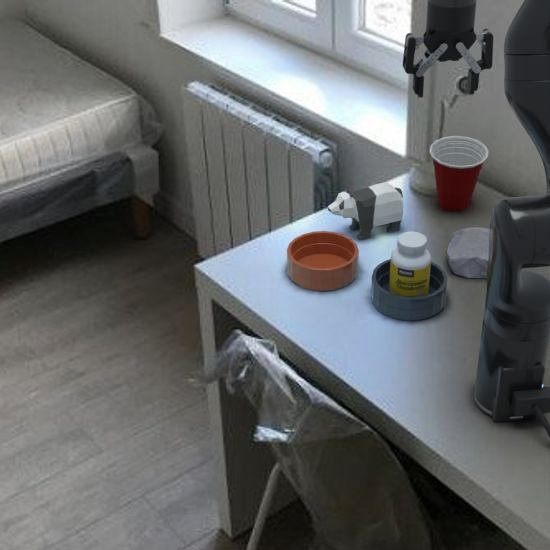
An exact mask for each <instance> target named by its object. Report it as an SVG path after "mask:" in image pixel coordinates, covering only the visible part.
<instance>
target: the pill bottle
mask: <svg viewBox="0 0 550 550" xmlns="http://www.w3.org/2000/svg"><path fill="white" fill-rule="evenodd" d="M396 242H397V243H396V247H395V248H394V249H393V250H392V251H391V254H390V259H391V263H390V281H389V293H392V294H395V295H398V296H404V297H421V296H426V295H428V289H429V278H430V267H431V261H432V255H431V253H430V251H429V250H428V249H427V246H428V238H427V236H425V234H423V233H421V232H418V231H405V232H402V233H400V234H399V235H398V236H397V240H396Z"/></svg>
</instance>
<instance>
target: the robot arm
mask: <svg viewBox="0 0 550 550" xmlns="http://www.w3.org/2000/svg"><path fill="white" fill-rule="evenodd" d="M477 1H478V0H427V6H426V7H427V8H426V22H425V31H424V33H423V35H414V34H413V33H411V32H408V33H406V35H405V38H404V39H405V40H404V47H403V57H402V69H403V71H404V72H405V73H406V74H407V75H412V76H413V77H412V90H413V92H414V94H415V95H416V96H417V98H418V99H420V98H424V85H425V76H424V74H425V73H426V72H427V71H428V70H429V68H432V67H433V66H434V65H435V63H436V62H437V61H438V62H439V63H445V62H448V61H451V62H459V60H461V59H464V61H465V62H466V63H467V65H468V66H469V69H468V71H467V79H466V80H467V82H466V91H467V94H468V95H474V94H475V92H477V91H478V90H479V84H480V83H479V82H480V74H481V72H483V71H484V70H491V69H492V68H493V61H494V60H493V59H494V34H493V32H491V30H489V29H488V28H484V29H482V31H475V21H476V11H477ZM476 41H477V42H478V45H480V47H481V48H480V49H481V51H480V53H481V55H480V59H479V60H476V59H475V58H474V56H473V55H472V54H471V52H470V49H471V48H472V46H473V45H474V44H475V42H476ZM503 42H504V43H503V53H504V54H503V91H504V95H505V98H506V100H507V103H508V105H509V107H510V109H511V111H512V112H513V114H514V115H515V117H516V118H517V120H518V121H519V123H520V125H521V126H522V127H523V129H524V131H525V132H526V133H527V135H528V136H529V137H530V139H531V141H532V143H533V144H534V146H535V149H536V150H537V152H538V154H539V156H540V159H541V161H542V165H543V167H544V168H543V169H544V174H545V181H546V194H539V195H538V194H537V195H525V196H513V197H504V198H500V199H499V200H498V201H497V202H496V203H495V204H494V206H493V209H492V210H491V211H492V212H491V216H490V221H489V222H490V223H489V229H490V235H489V256H488V267H487V279H486V293H485V303H484V311H483V319H482V327H481V333H480V343H479V351H478V359H477V367H476V377H475V386H474V389H473V400H474V402H475V404H476V406H477V407H478V408H479V410H481V411H482V412H483V413H485V414H487V415H488V416H490V417H491V418H492V420H493V422H495V423H498V422H499V423H500V422H510V421H522V420H533V419H537V418H538V419H539V421H540V423H541V424H542V426H543V428H544V429H545V432H546V433H547V435H548V437H549V438H550V423H549V422H548V420H547V418H546V416H545V415H544V414H550V386H544V379H545V373H546V364H547V359H548V354H549V347H550V279H549V277H547V276H545V275H544V274H542V273H539V272H538V271H535V270H532V269H534V268H545V267H550V0H523V2H522V3H521V5H520V7H519V8H518V10H517V12H516V14H515V15H514V18H513V19H512V21H511V23H510V25H509V27H508V29H507V31H506V34H505V37H504V41H503ZM422 44H424V47H426V48H425V50H424V51H423V52H422V54H421V55H420V58H419V59H418V60H417V61H416V63H415V64H414V62H415V55H416V51H417V50H418V49H420V45H422Z"/></svg>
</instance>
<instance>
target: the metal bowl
mask: <svg viewBox="0 0 550 550" xmlns="http://www.w3.org/2000/svg"><path fill="white" fill-rule="evenodd" d="M390 263H391V258H388V259H386V260H384V261H382V262H381V263H379V264H377V265H376V266H375V267H374V269H373V270H372V274H371V287H370V298H371V302H372V304H373V305H374V307H375V308H376V309H377V310H378V311H379V312H380V313H382V314H384V315H385V316H387V317H390V318H392V319H396V320H400V321H401V320H402V321H420V320H425V319H429V318H431V317H434V316H435V315H436V314H438V313H440V312H441V311H442V310H443V308H444V307H445V306H446V299H447V290H448V289H447V288H448V278H449V277H448V275H447V272H446V271H445V270H444V269H443V268H442V267H441V266H440V265H439V264H437V263H436V262H433V261H432V260H431V267H430V278H429V289H428V295H426V296H421V297H404V296H398V295H395V294H392V293H389V281H390Z"/></svg>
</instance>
